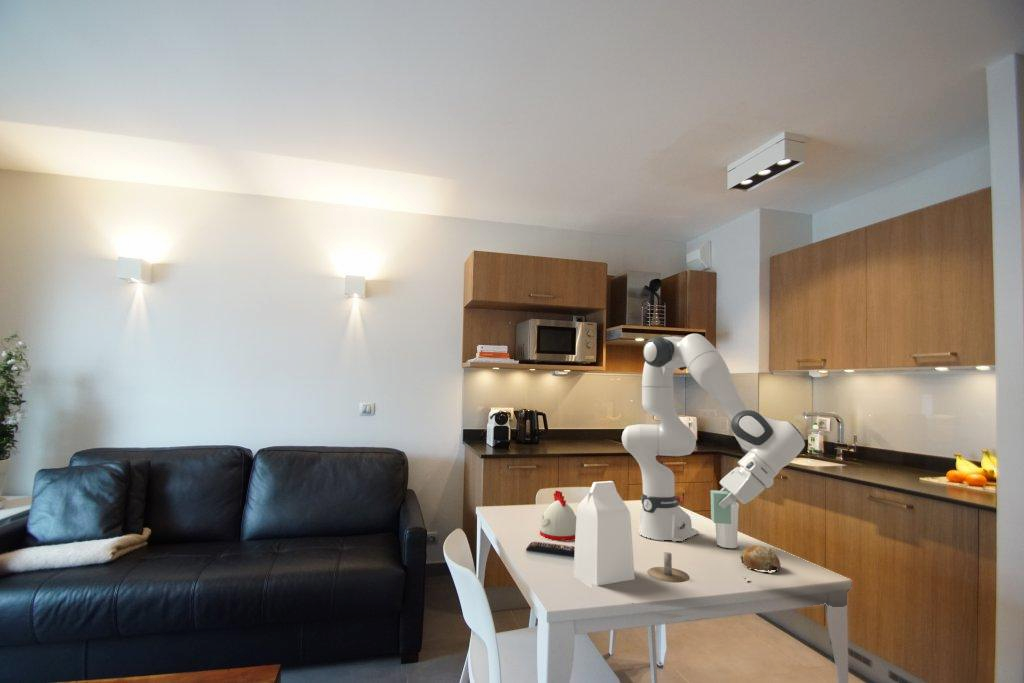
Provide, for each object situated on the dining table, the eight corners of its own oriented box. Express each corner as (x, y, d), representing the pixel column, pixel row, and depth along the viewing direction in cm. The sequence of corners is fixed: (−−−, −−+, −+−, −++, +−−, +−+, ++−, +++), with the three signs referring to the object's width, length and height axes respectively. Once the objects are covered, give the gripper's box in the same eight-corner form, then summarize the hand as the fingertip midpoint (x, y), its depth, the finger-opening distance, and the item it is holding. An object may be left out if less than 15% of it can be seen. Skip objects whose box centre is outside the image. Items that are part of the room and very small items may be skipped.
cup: (738, 552, 156) (737, 506, 157) (711, 547, 160) (711, 503, 162) (741, 545, 163) (740, 501, 164) (716, 541, 167) (715, 498, 168)
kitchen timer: (568, 528, 180) (568, 486, 181) (586, 539, 167) (586, 494, 168) (533, 531, 175) (534, 488, 176) (549, 542, 162) (550, 496, 164)
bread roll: (758, 587, 137) (769, 564, 135) (730, 560, 146) (739, 539, 144) (780, 581, 142) (791, 559, 140) (751, 555, 151) (761, 534, 148)
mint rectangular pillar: (711, 519, 137) (710, 490, 138) (727, 520, 136) (726, 491, 137) (714, 522, 133) (713, 493, 134) (731, 524, 132) (730, 494, 133)
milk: (596, 591, 123) (596, 487, 126) (573, 575, 134) (573, 479, 136) (634, 585, 128) (634, 484, 130) (609, 569, 138) (609, 477, 141)
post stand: (665, 569, 139) (664, 544, 140) (698, 582, 130) (697, 555, 131) (638, 577, 133) (638, 550, 134) (671, 591, 124) (670, 563, 125)
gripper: (736, 457, 145) (703, 488, 146) (756, 466, 125) (716, 503, 126) (753, 473, 144) (719, 505, 145) (775, 485, 124) (735, 522, 125)
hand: (718, 504), depth 135 cm, fingers closed on mint rectangular pillar, 4 cm apart
